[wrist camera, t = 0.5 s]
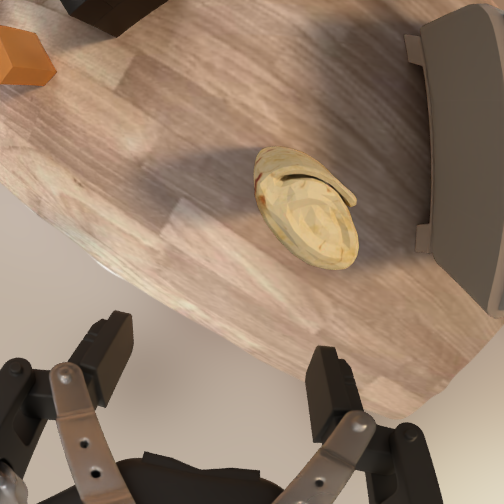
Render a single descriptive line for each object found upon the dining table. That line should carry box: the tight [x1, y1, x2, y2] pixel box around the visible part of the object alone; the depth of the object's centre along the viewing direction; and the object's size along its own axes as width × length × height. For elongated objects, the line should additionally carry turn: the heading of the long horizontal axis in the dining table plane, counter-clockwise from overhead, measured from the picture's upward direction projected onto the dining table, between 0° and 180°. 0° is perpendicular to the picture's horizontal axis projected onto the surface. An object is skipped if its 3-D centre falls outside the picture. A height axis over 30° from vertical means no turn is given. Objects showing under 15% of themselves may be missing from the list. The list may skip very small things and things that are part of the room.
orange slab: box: [0, 25, 57, 86], centre depth 26 cm, size 3×10×10 cm, turn 32°
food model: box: [254, 146, 359, 270], centre depth 28 cm, size 10×7×20 cm
